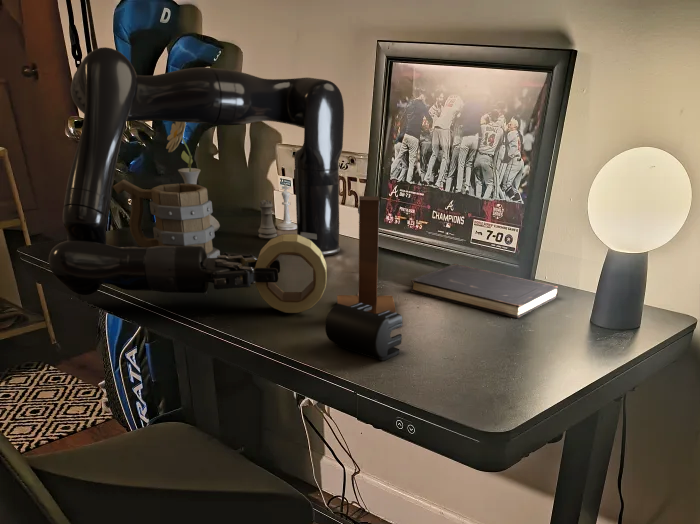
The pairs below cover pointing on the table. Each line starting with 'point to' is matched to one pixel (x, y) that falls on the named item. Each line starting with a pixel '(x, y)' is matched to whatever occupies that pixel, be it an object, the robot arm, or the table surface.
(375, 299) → the stand
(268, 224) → the rook chess piece
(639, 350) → the table surface
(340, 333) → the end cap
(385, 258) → the table surface
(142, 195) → the tankard
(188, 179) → the flower in vase
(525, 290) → the hardcover book
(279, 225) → the chess piece
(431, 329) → the table surface
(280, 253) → the masking tape
